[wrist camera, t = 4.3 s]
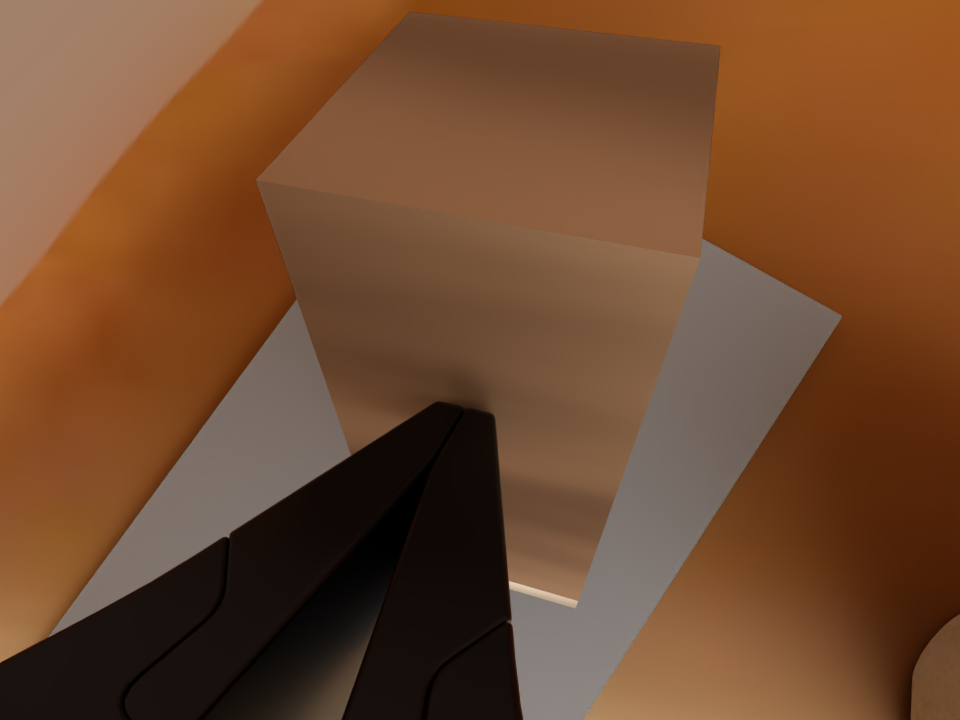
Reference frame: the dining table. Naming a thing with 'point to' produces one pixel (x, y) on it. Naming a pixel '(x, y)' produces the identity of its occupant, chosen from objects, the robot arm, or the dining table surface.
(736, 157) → the dining table surface
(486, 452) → the robot arm
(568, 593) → the walnut block
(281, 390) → the rubber mat
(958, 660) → the flower pot
